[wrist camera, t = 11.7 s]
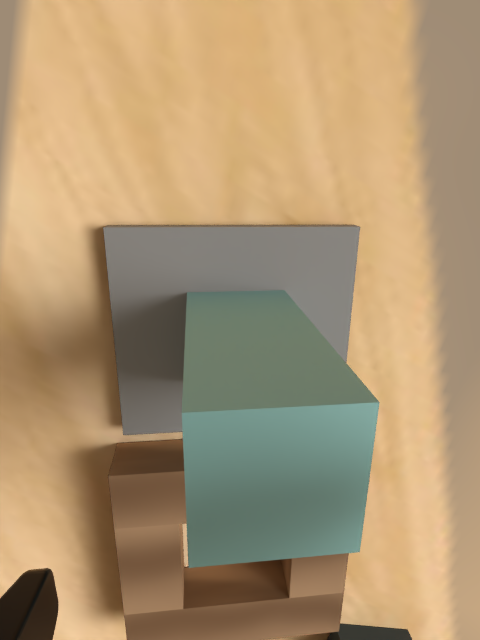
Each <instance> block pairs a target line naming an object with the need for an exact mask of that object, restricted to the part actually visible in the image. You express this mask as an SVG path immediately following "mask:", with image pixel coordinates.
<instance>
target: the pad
mask: <svg viewBox="0 0 480 640" xmlns="http://www.w3.org/2000/svg"><path fill="white" fill-rule="evenodd" d="M103 230H104V241H105V251H106V261H107V272H108V282H109V292H110V302H111V313H112V323H113V333H114V344H115V354H116V364H117V375H118V385H119V395H120V406H121V416H122V426H123V435H136V434H153V433H171V432H183V430H182V396H183V373H184V350H185V327H186V304H187V292H226V291H272V290H285V291H286V293H287V294H288V295H289V296H290V297H291V298H292V300H293V301H294V302H295V303H296V304H297V306H298V307H299V308H300V309H301V310H302V311H303V313H304V314H305V315H306V316H307V317H308V319H309V320H310V321H311V322H312V323H313V324H314V326H315V327H316V328H317V329H318V330H319V332H320V333H321V334H322V335H323V336H324V338H325V339H326V340H327V341H328V342H329V343H330V345H331V346H332V347H333V348H334V349H335V351H336V352H337V353H338V354H339V355H340V356H341V358H342V359H343V360H344V361H345V362H346V361H347V351H348V341H349V331H350V321H351V311H352V301H353V291H354V281H355V272H356V262H357V252H358V242H359V232H360V227H359V226H356V225H107V226H105V227H103Z"/></svg>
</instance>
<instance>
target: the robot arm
mask: <svg viewBox="0 0 480 640" xmlns="http://www.w3.org/2000/svg"><path fill="white" fill-rule="evenodd" d="M57 615H58V597H57V592H56V587H55V581H54V576H53V572H52V571H51V569H48V568H45V569H33V570H28V571H26V572H25V573H23V574H22V575H21V576H20V577H19V578H18V580H17V581H16V582H15V583H14V584H13V585H12V586H11V587H10V588H9V589H8V590H7V592H6V593H5V594H4V595H3V596H2V597H1V598H0V640H53V635H54V630H55V625H56V620H57Z"/></svg>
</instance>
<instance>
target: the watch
mask: <svg viewBox="0 0 480 640" xmlns="http://www.w3.org/2000/svg"><path fill="white" fill-rule="evenodd" d="M327 640H412V638H411V636H410V634H409V632H408V630H405V629H394V628H383V627H371V626H360V625H349V624H340V627H339V632H331V633H330V635H329V637H328V639H327Z"/></svg>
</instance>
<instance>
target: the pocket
mask: <svg viewBox="0 0 480 640" xmlns="http://www.w3.org/2000/svg"><path fill="white" fill-rule="evenodd" d="M108 479H109V488H110V497H111V505H112V514H113V523H114V531H115V540H116V549H117V557H118V566H119V575H120V583H121V592H122V601H123V609H124V618H125V627H126V635H127V640H268V639H277V638H285V637H294V636H303V635H312V634H321V633H330V632H339V627H340V619H341V611H342V603H343V594H344V586H345V578H346V570H347V562H348V554H349V553H344V554H333V555H323V556H312V557H301V558H291V559H280V560H269V561H258V562H248V563H237V564H226V565H216V566H205V567H194V568H189V567H185V568H184V553H183V532H182V524H185V523H187V519H186V497H185V474H184V452H183V439H182V440H165V441H148V442H131V443H117V447H116V450H115V454H114V457H113V461H112V464H111V468H110V471H109V475H108Z"/></svg>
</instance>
